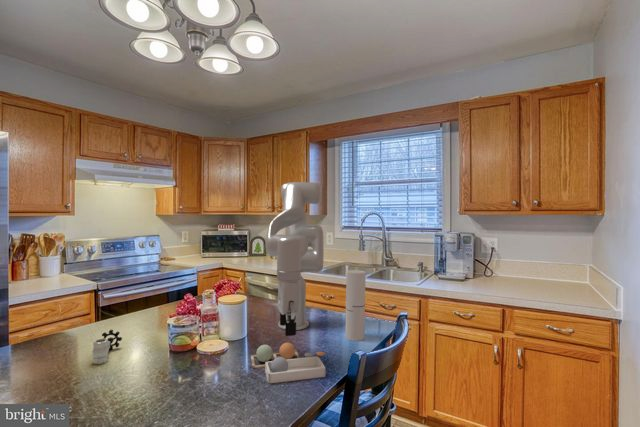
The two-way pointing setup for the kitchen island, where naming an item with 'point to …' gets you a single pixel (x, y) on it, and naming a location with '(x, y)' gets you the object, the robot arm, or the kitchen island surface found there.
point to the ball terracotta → (287, 351)
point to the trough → (297, 370)
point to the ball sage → (264, 353)
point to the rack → (264, 364)
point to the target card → (316, 354)
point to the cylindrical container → (355, 305)
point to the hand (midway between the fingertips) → (287, 329)
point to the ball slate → (279, 365)
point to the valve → (104, 347)
